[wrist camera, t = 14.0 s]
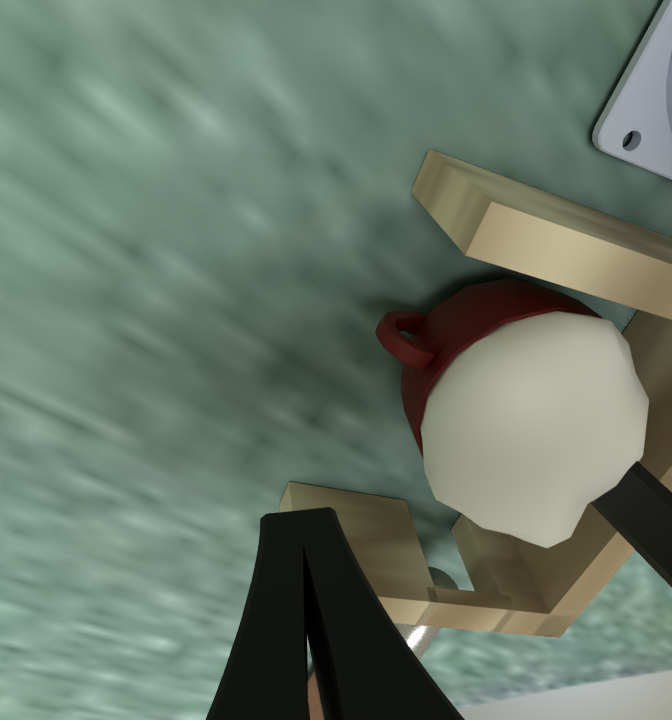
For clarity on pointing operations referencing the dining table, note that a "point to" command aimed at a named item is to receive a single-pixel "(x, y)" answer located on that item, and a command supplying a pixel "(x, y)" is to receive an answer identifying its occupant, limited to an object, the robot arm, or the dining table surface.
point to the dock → (593, 532)
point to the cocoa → (530, 415)
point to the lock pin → (413, 635)
